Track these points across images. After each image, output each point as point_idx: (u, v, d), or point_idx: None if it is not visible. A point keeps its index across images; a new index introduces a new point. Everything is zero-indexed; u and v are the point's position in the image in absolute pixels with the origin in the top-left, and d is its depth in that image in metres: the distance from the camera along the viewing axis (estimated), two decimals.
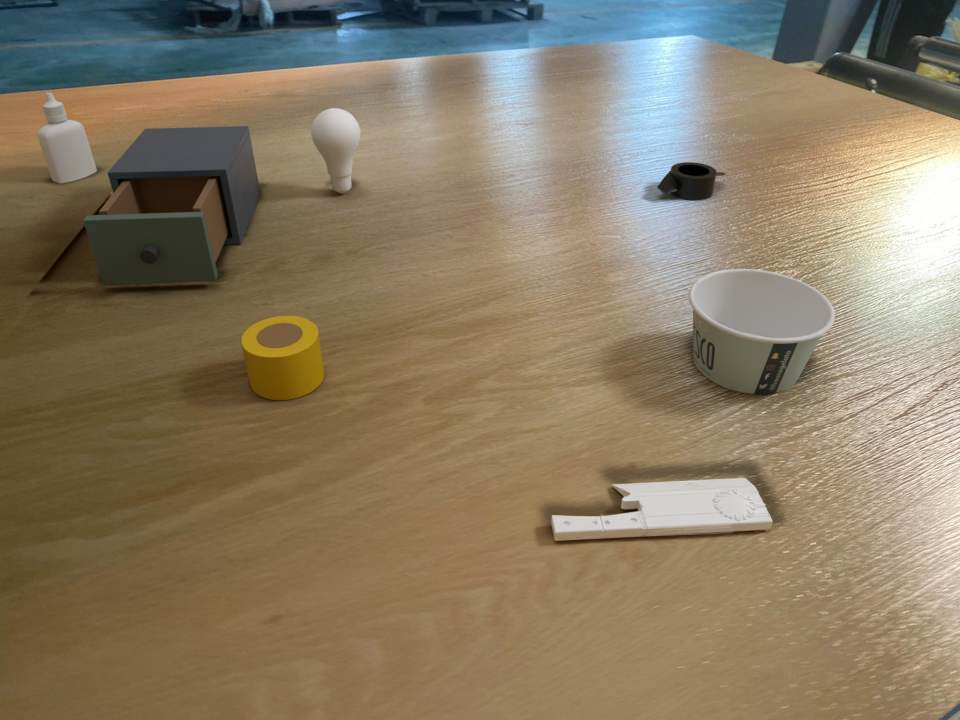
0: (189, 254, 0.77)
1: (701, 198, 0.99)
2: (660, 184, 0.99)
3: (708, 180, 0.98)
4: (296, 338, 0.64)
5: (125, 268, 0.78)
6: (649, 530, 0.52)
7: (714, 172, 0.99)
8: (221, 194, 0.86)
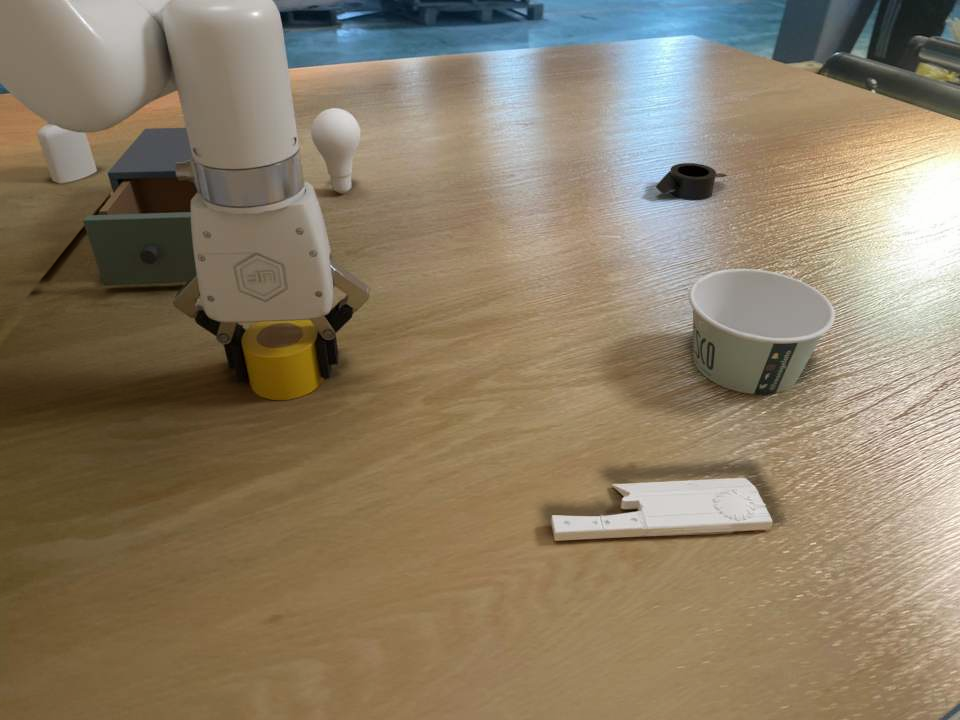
0: (189, 254, 0.77)
1: (699, 199, 0.99)
2: (659, 184, 0.99)
3: (707, 181, 0.98)
4: (296, 338, 0.64)
5: (125, 268, 0.78)
6: (649, 530, 0.52)
7: (713, 173, 0.99)
8: None
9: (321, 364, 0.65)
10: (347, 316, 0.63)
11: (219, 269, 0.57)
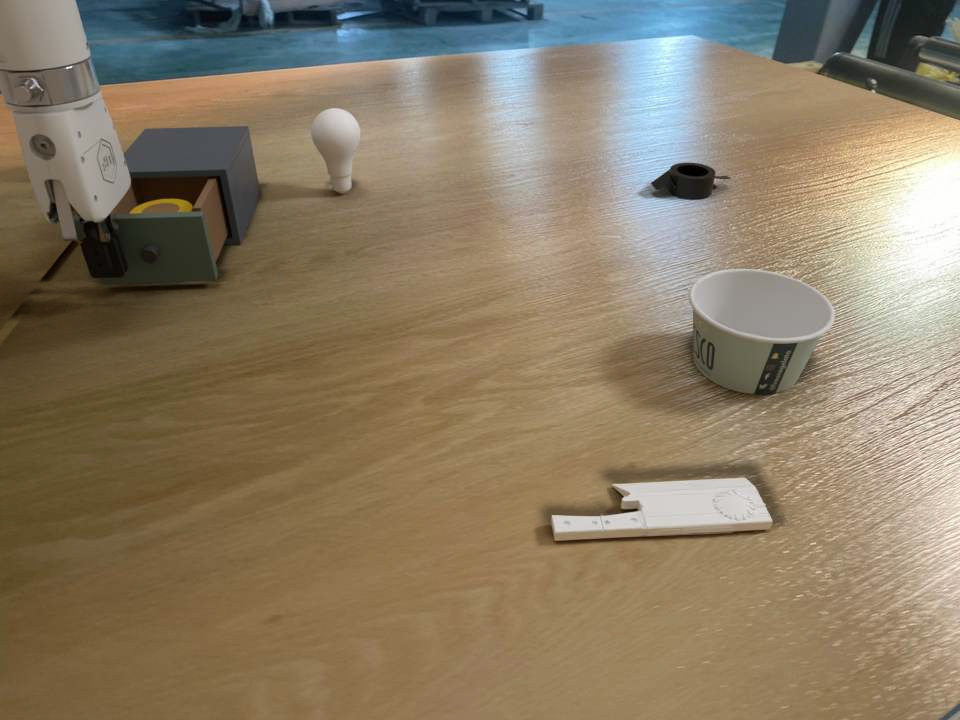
0: (189, 253, 0.77)
1: (694, 199, 0.99)
2: (655, 180, 1.00)
3: (702, 181, 0.98)
4: None
5: None
6: (649, 530, 0.52)
7: (712, 174, 0.98)
8: (221, 194, 0.86)
9: (122, 257, 0.74)
10: None
11: (92, 165, 0.66)
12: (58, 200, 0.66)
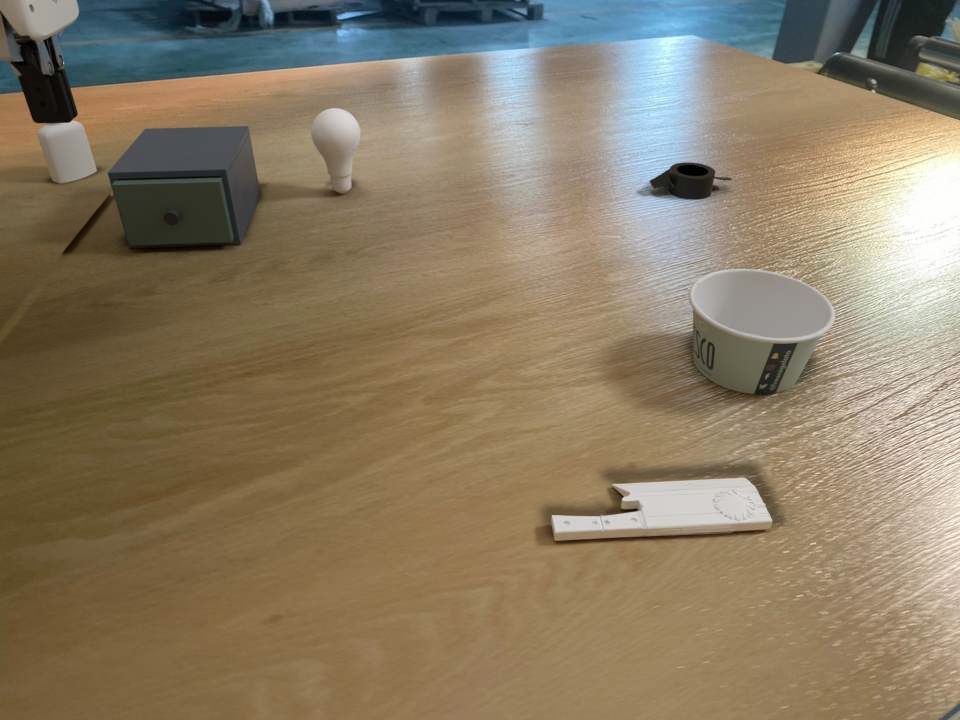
0: (208, 217, 0.85)
1: (692, 198, 0.99)
2: (654, 179, 1.00)
3: (699, 181, 0.98)
4: None
5: (150, 229, 0.85)
6: (649, 530, 0.52)
7: (711, 175, 0.98)
8: None
9: (69, 99, 0.65)
10: (58, 38, 0.64)
11: None
12: None
